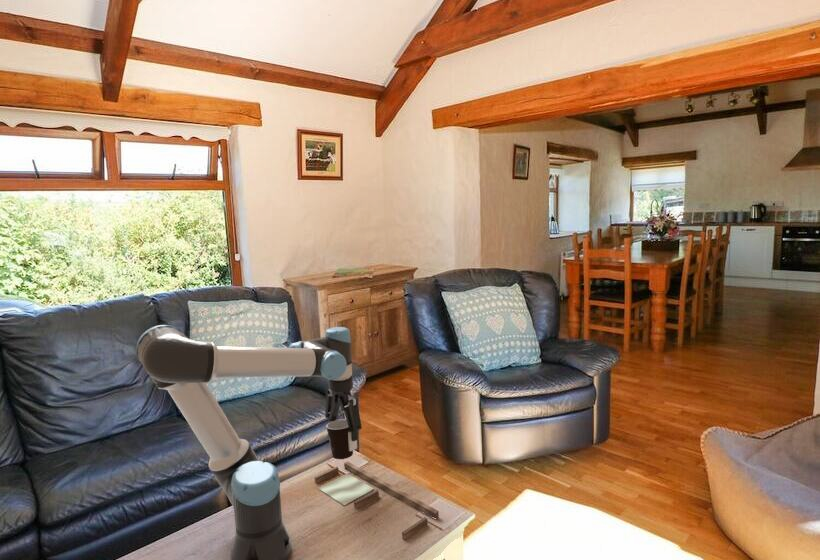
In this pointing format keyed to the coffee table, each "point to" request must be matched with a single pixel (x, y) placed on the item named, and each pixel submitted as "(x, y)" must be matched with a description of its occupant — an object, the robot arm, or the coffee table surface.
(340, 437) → the coffee mug
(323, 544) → the coffee table surface
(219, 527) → the coffee table surface
